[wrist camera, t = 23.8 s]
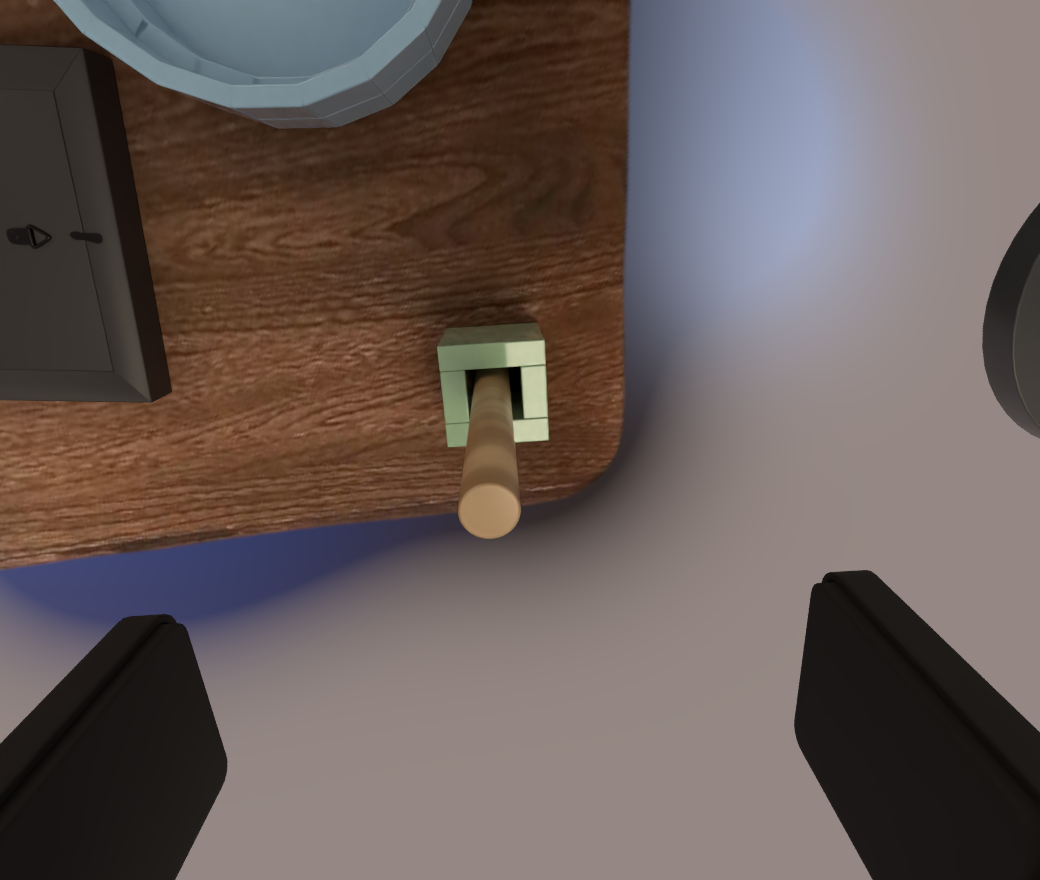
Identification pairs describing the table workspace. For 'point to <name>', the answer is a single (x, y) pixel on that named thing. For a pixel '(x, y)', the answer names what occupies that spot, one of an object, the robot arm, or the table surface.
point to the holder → (494, 350)
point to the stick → (490, 459)
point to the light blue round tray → (278, 51)
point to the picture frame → (71, 237)
